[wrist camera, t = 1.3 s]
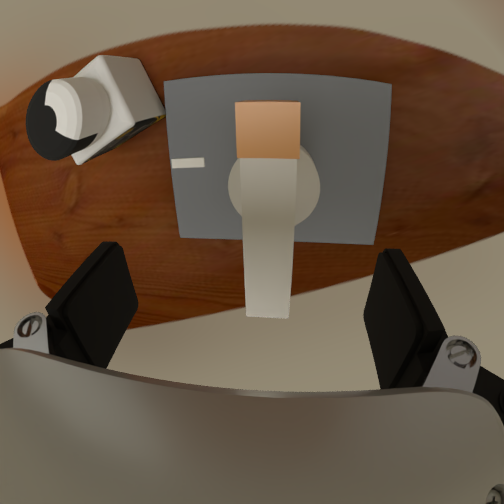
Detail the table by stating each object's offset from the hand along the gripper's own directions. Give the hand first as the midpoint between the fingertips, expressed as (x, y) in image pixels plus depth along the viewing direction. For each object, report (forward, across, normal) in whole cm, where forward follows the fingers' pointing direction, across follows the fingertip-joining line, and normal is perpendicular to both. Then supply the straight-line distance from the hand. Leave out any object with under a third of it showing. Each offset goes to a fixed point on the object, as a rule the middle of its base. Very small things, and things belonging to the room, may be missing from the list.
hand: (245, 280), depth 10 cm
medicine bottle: (+20, +14, -6) cm, 25 cm away
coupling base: (+19, -1, 0) cm, 19 cm away
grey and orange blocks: (+13, -1, 0) cm, 13 cm away
